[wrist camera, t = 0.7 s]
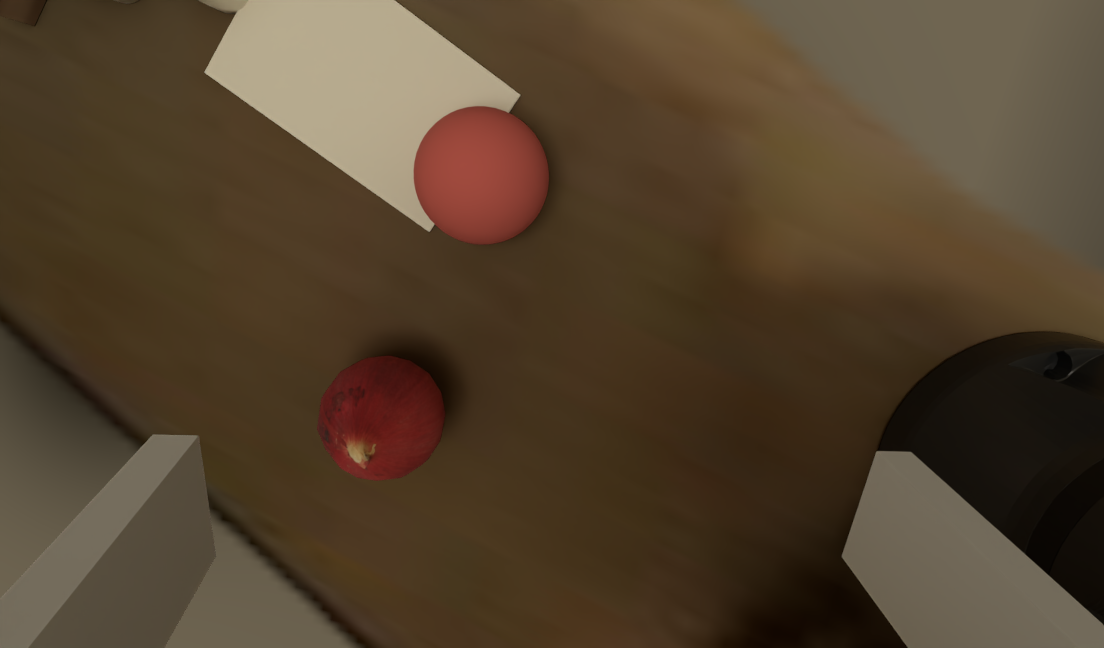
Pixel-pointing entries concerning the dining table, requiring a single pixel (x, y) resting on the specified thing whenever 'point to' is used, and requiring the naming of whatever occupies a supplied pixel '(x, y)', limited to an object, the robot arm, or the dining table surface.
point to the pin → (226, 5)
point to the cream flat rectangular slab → (353, 84)
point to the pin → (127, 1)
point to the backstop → (22, 10)
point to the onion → (381, 418)
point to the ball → (481, 175)
